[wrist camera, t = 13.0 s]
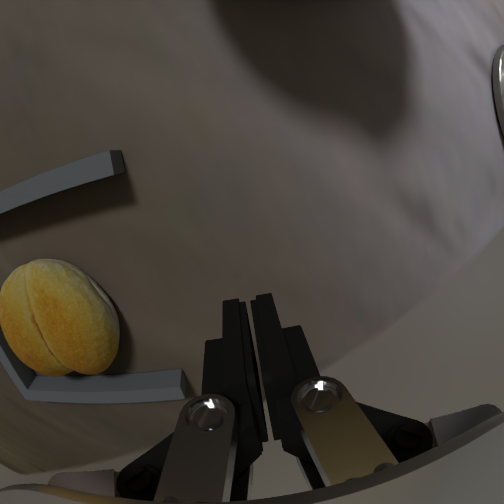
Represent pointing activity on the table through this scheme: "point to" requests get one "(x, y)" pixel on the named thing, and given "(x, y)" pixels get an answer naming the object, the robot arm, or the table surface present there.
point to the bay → (82, 387)
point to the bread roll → (58, 319)
